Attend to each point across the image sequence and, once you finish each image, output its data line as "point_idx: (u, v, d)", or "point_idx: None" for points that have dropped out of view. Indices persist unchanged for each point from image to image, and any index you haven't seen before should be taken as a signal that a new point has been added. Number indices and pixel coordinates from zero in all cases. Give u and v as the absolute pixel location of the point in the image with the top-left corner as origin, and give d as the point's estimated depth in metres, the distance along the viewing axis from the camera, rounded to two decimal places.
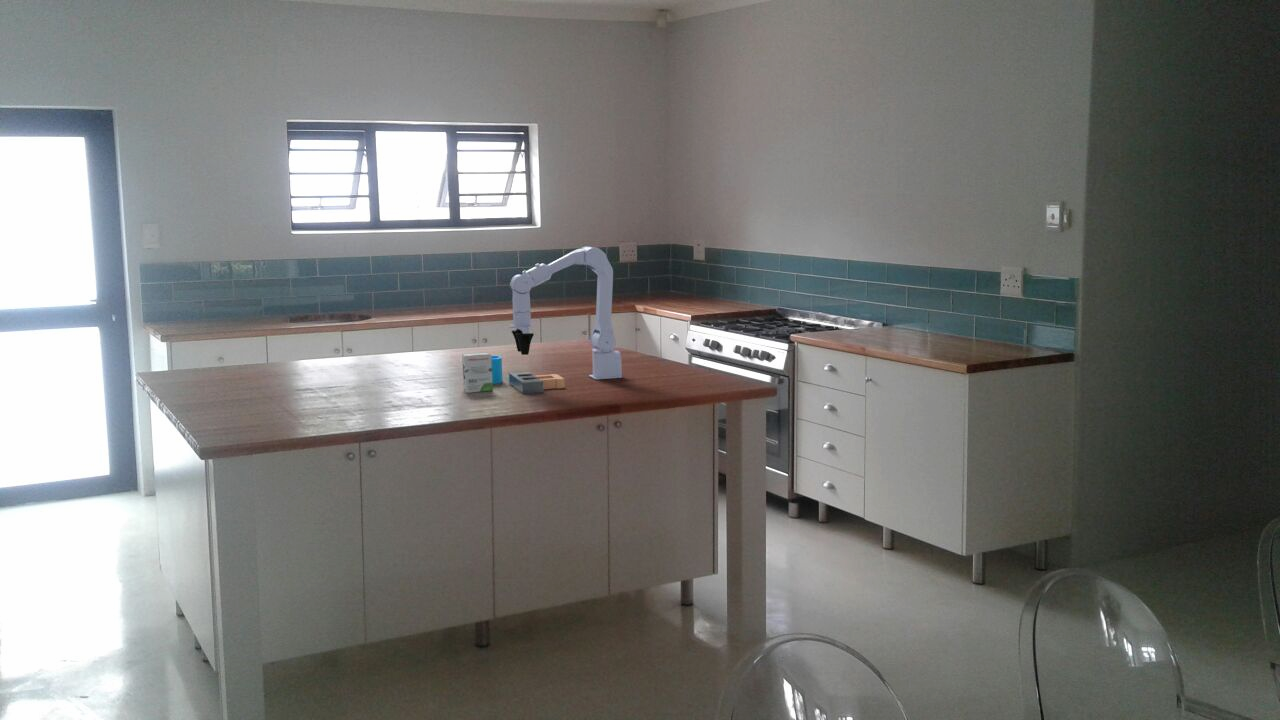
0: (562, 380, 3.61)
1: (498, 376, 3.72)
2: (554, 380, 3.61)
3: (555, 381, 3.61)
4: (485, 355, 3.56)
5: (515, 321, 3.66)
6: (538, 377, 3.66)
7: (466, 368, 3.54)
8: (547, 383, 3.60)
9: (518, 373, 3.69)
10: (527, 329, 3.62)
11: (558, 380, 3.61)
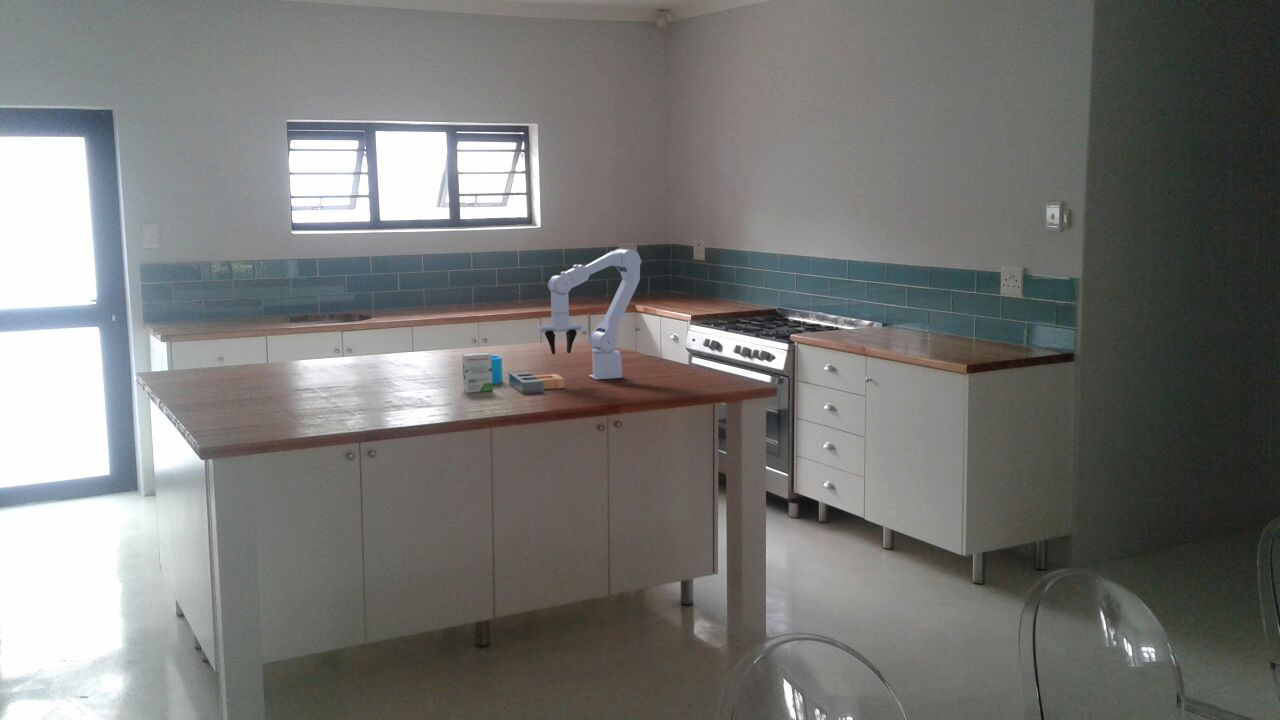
0: (562, 380, 3.61)
1: (498, 376, 3.72)
2: (554, 380, 3.61)
3: (555, 381, 3.61)
4: (485, 355, 3.56)
5: None
6: (538, 377, 3.66)
7: (466, 368, 3.54)
8: (547, 383, 3.60)
9: (518, 373, 3.69)
10: (539, 328, 3.68)
11: (558, 380, 3.61)
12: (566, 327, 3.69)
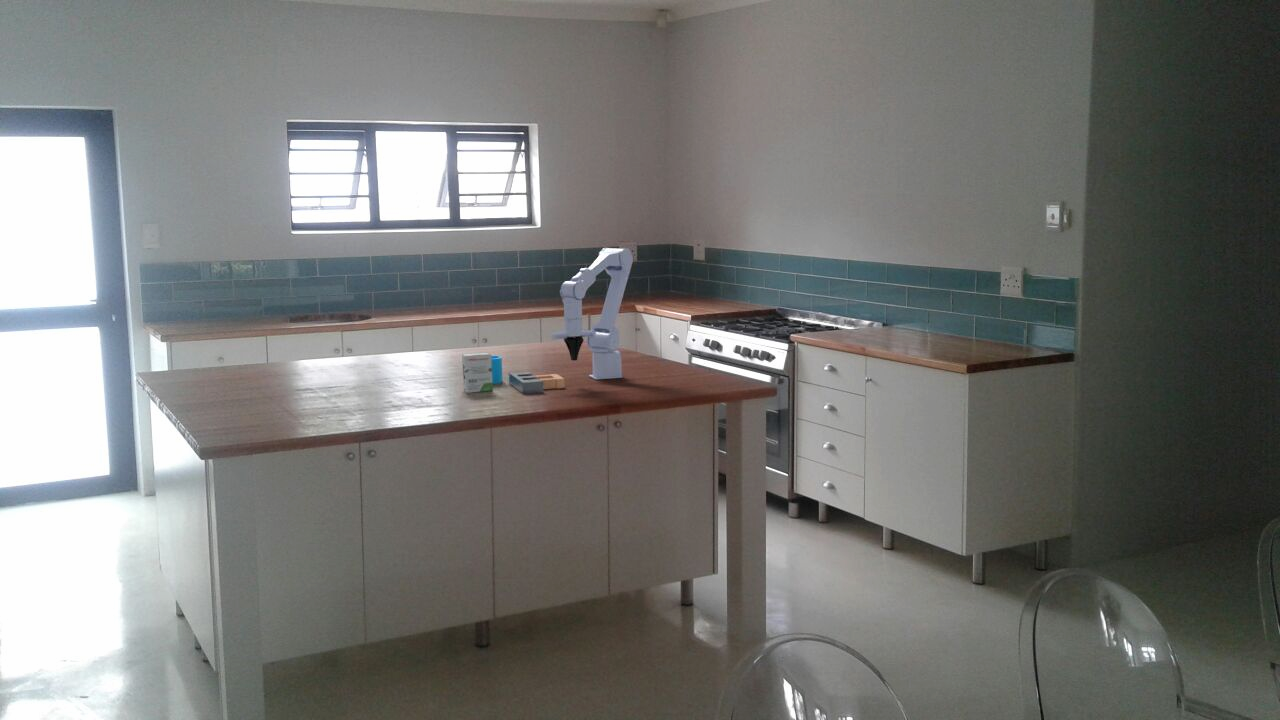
0: (562, 380, 3.61)
1: (498, 376, 3.72)
2: (554, 380, 3.61)
3: (555, 381, 3.61)
4: (485, 355, 3.56)
5: None
6: (538, 377, 3.66)
7: (466, 368, 3.54)
8: (547, 383, 3.60)
9: (518, 373, 3.69)
10: (552, 335, 3.62)
11: (558, 380, 3.61)
12: (580, 333, 3.63)
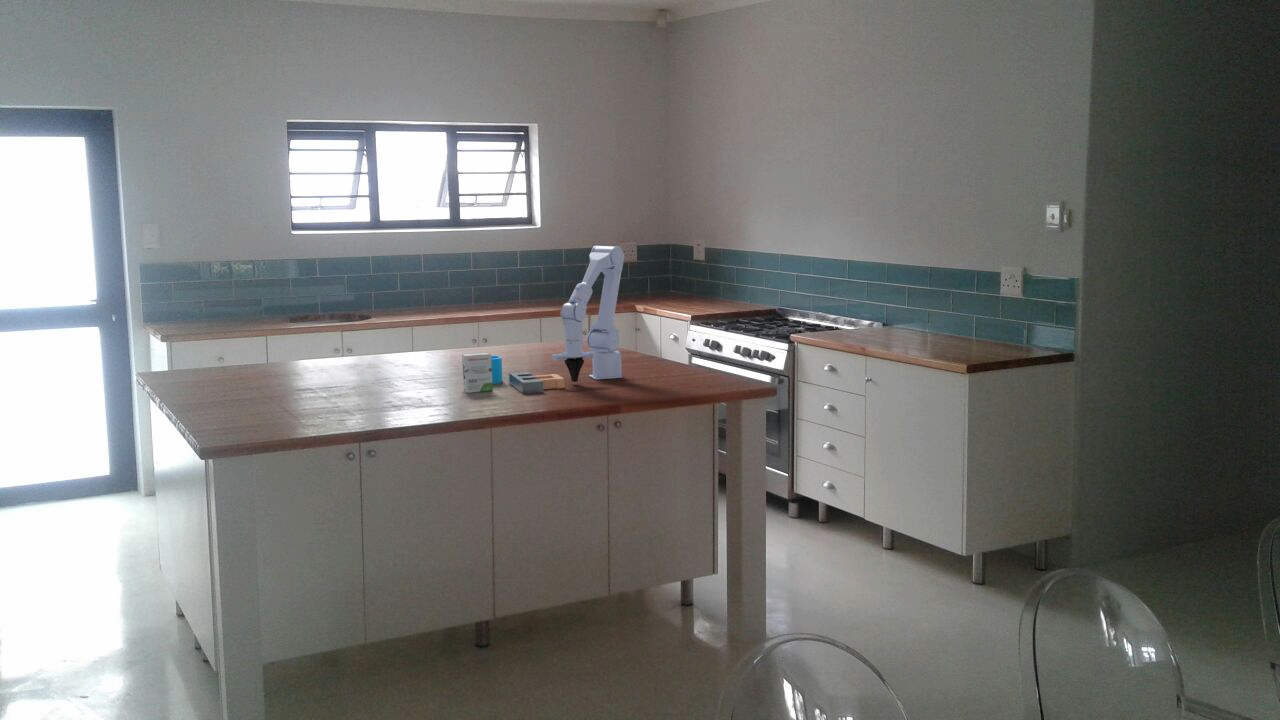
0: (562, 380, 3.61)
1: (498, 376, 3.72)
2: (554, 380, 3.61)
3: (555, 381, 3.61)
4: (485, 355, 3.56)
5: None
6: (538, 377, 3.66)
7: (466, 368, 3.54)
8: (547, 383, 3.60)
9: (518, 373, 3.69)
10: (553, 357, 3.63)
11: (558, 380, 3.61)
12: (580, 355, 3.64)
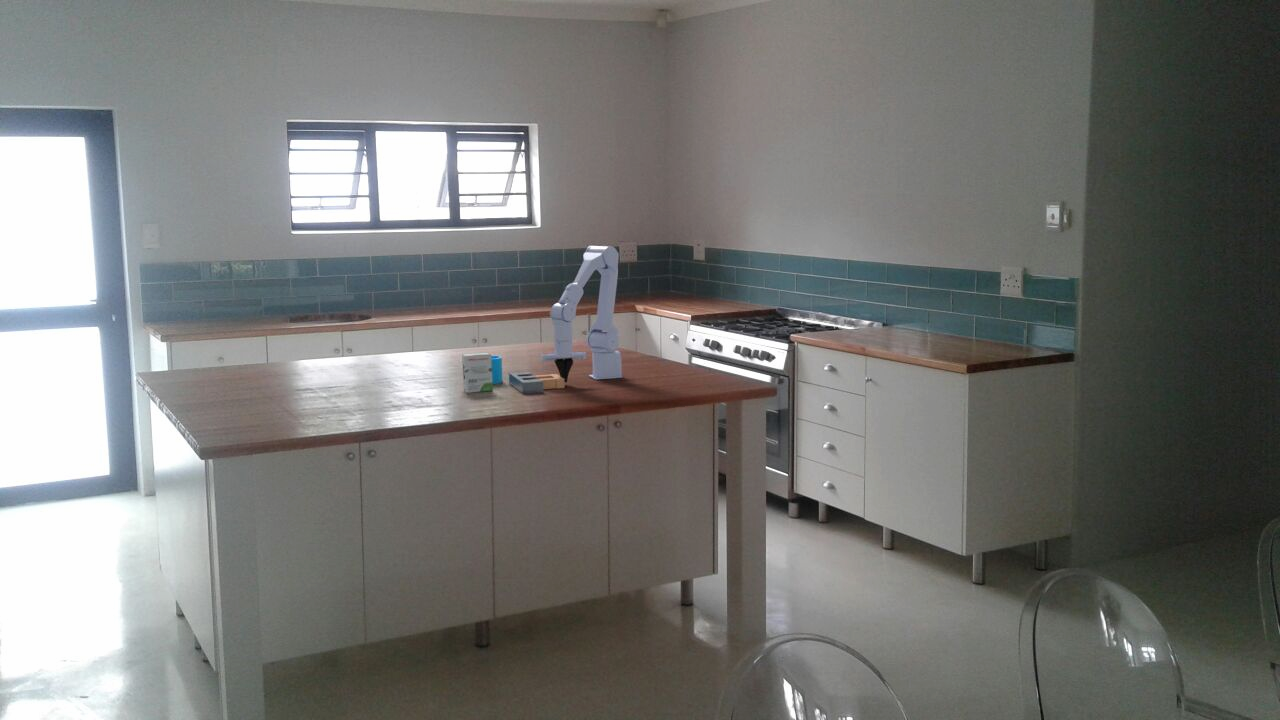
0: (562, 380, 3.61)
1: (498, 376, 3.72)
2: (554, 380, 3.61)
3: (555, 381, 3.61)
4: (485, 355, 3.56)
5: None
6: (538, 377, 3.66)
7: (466, 368, 3.54)
8: (547, 383, 3.60)
9: (518, 373, 3.69)
10: (542, 357, 3.63)
11: (558, 380, 3.61)
12: (569, 355, 3.63)
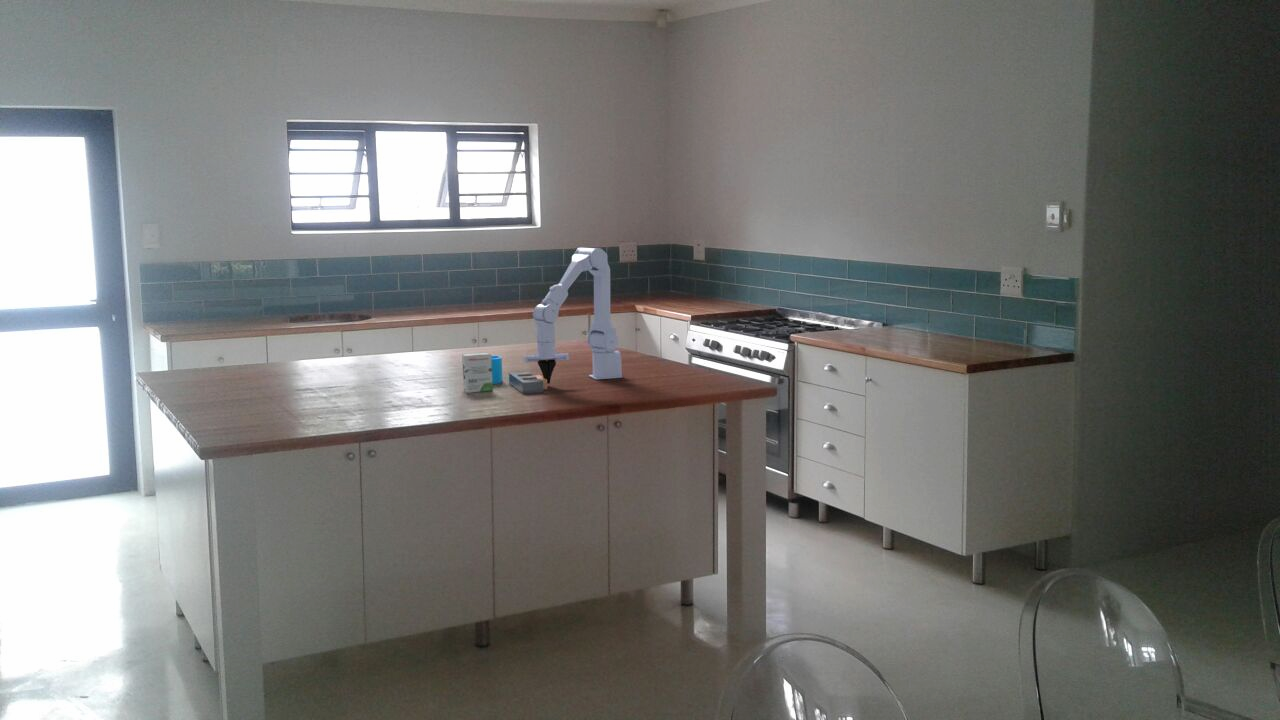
0: (545, 382, 3.59)
1: (498, 376, 3.72)
2: None
3: None
4: (485, 355, 3.56)
5: None
6: None
7: (466, 368, 3.54)
8: None
9: (518, 373, 3.69)
10: (524, 358, 3.61)
11: None
12: (552, 357, 3.61)
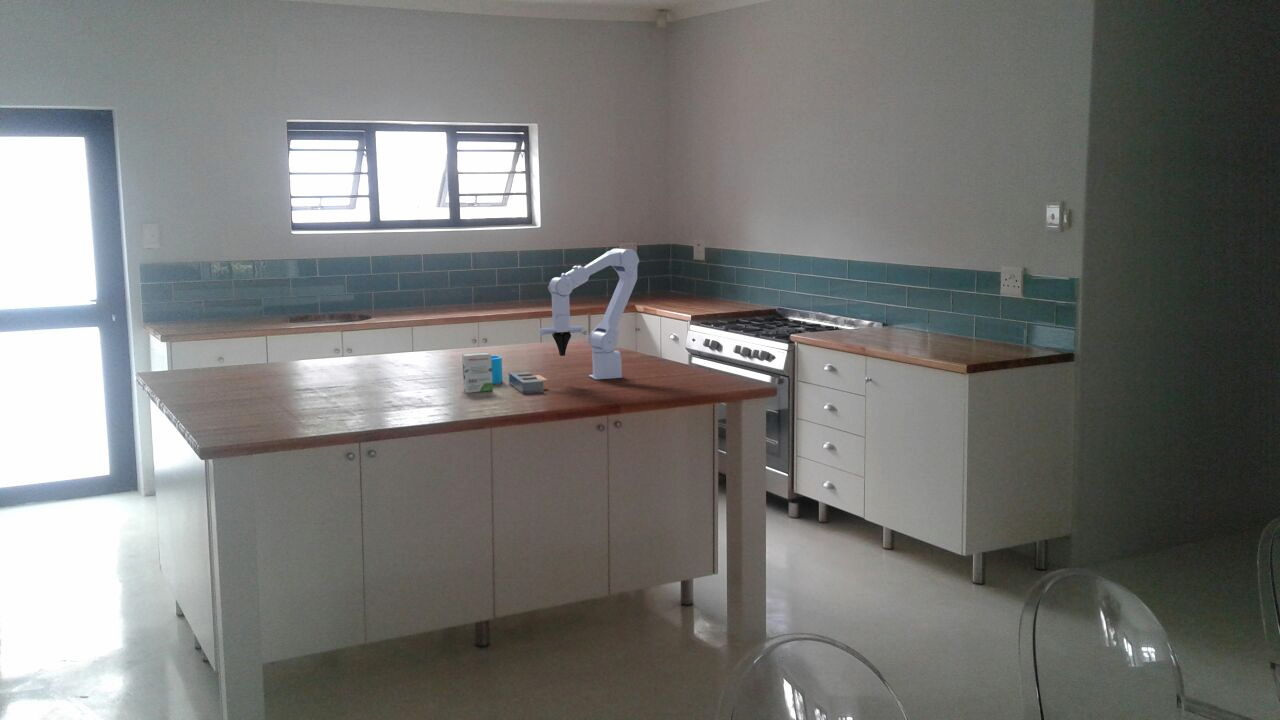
0: (545, 382, 3.59)
1: (498, 376, 3.72)
2: None
3: None
4: (485, 355, 3.56)
5: None
6: None
7: (466, 368, 3.54)
8: None
9: (518, 373, 3.69)
10: (540, 331, 3.67)
11: None
12: (567, 329, 3.67)
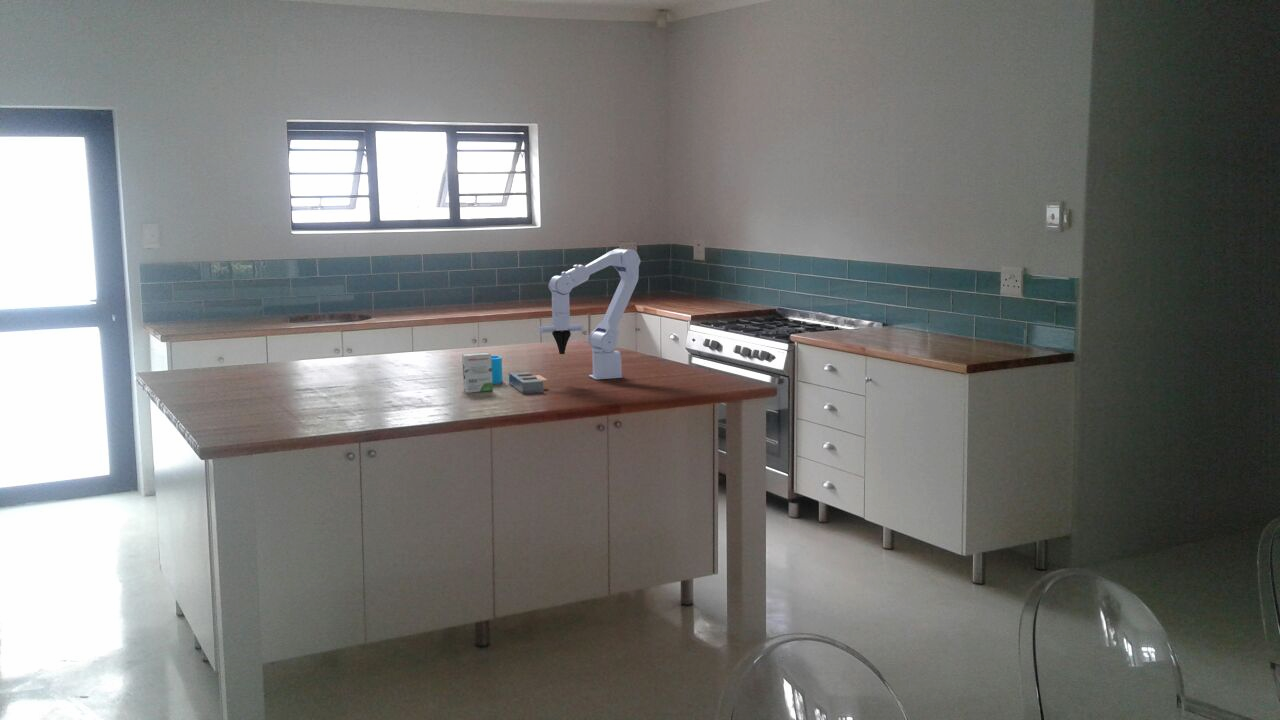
0: (545, 382, 3.59)
1: (498, 376, 3.72)
2: None
3: None
4: (485, 355, 3.56)
5: None
6: None
7: (466, 368, 3.54)
8: None
9: (518, 373, 3.69)
10: (540, 329, 3.67)
11: None
12: (567, 327, 3.68)
